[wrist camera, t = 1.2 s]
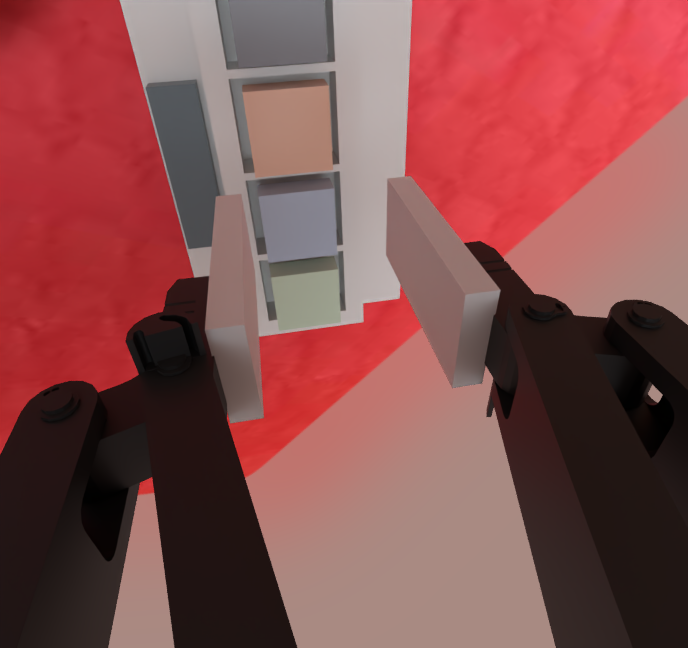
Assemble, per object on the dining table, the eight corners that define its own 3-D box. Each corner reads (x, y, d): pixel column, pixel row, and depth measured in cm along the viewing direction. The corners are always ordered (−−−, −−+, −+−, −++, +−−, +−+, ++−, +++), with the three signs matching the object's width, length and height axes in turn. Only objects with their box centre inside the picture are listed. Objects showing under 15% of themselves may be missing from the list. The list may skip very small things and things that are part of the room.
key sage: (276, 308, 33) (278, 330, 31) (268, 256, 30) (270, 277, 28) (334, 300, 33) (340, 322, 31) (331, 249, 31) (338, 269, 29)
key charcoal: (238, 58, 23) (238, 68, 21) (222, -46, 21) (221, -46, 19) (319, 52, 24) (327, 61, 22) (314, -50, 21) (321, -50, 19)
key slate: (266, 242, 29) (268, 262, 28) (256, 178, 27) (258, 196, 25) (330, 234, 30) (337, 254, 28) (327, 171, 27) (334, 188, 26)
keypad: (207, 319, 34) (205, 344, 32) (99, -84, 21) (84, -88, 19) (397, 293, 36) (407, 315, 34) (412, -95, 22) (431, -101, 20)
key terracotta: (254, 161, 26) (255, 177, 24) (241, 81, 24) (242, 92, 22) (326, 154, 27) (333, 170, 25) (321, 75, 24) (328, 85, 22)
